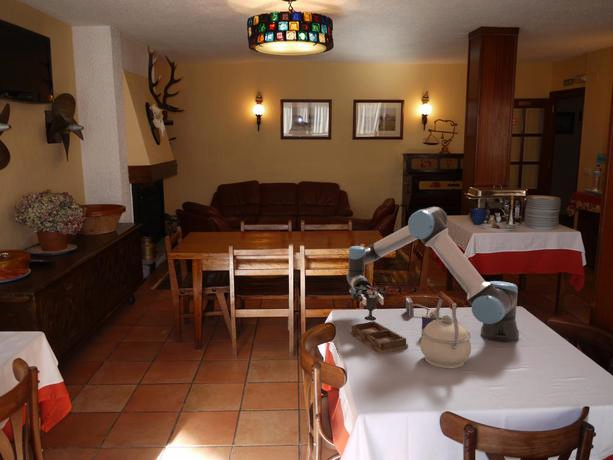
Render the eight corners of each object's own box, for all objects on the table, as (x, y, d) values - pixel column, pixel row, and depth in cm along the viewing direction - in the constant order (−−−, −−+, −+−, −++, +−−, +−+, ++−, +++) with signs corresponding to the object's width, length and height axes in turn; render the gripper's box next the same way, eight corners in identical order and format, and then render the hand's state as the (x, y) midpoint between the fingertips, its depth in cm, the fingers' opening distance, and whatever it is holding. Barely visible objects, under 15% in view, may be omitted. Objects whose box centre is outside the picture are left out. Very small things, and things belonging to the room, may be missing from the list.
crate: (407, 347, 209) (408, 338, 208) (380, 354, 203) (381, 344, 202) (374, 329, 229) (375, 320, 228) (349, 334, 223) (349, 325, 222)
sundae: (379, 316, 221) (381, 282, 219) (376, 322, 215) (377, 287, 212) (364, 315, 224) (365, 281, 221) (360, 320, 217) (362, 285, 214)
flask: (442, 335, 221) (443, 311, 219) (444, 338, 218) (445, 314, 216) (420, 335, 222) (421, 311, 220) (422, 338, 219) (422, 313, 217)
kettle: (479, 372, 187) (483, 306, 182) (429, 374, 186) (432, 307, 181) (455, 345, 211) (458, 285, 207) (410, 346, 210) (412, 286, 206)
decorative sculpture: (439, 315, 246) (440, 300, 245) (435, 322, 238) (436, 307, 236) (405, 311, 253) (406, 296, 252) (401, 317, 244) (401, 302, 243)
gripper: (381, 292, 237) (396, 309, 215) (339, 294, 235) (350, 311, 212) (382, 276, 236) (397, 292, 213) (339, 278, 233) (350, 293, 211)
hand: (373, 301), depth 213 cm, fingers closed on sundae, 6 cm apart
